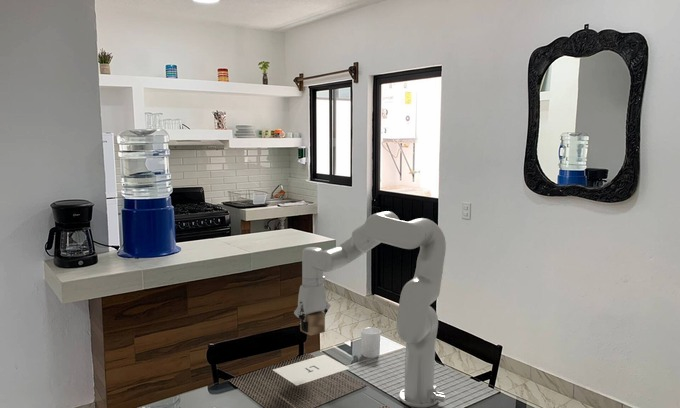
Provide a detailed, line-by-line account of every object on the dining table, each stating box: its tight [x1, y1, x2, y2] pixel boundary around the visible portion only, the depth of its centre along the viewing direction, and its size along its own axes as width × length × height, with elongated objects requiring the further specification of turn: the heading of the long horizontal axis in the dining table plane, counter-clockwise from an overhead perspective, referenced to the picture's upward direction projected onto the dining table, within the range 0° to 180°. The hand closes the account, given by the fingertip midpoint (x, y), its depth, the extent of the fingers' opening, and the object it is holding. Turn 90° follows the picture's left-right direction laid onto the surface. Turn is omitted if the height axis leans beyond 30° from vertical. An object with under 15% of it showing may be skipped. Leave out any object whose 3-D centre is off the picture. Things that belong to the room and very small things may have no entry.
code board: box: [272, 354, 350, 387], centre depth 194 cm, size 24×16×1 cm, turn 129°
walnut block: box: [299, 312, 326, 336], centre depth 192 cm, size 6×6×7 cm
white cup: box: [360, 326, 382, 359], centre depth 209 cm, size 8×8×10 cm
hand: (312, 328), depth 192 cm, fingers closed on walnut block, 6 cm apart
